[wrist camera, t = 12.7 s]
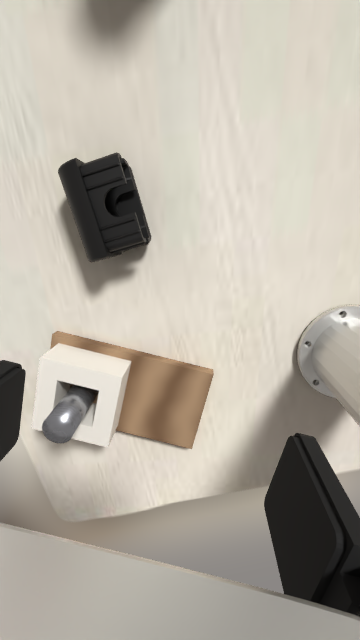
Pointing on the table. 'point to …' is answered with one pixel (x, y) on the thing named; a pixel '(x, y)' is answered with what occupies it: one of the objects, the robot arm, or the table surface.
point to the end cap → (105, 205)
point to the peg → (68, 414)
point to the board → (154, 392)
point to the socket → (85, 371)
